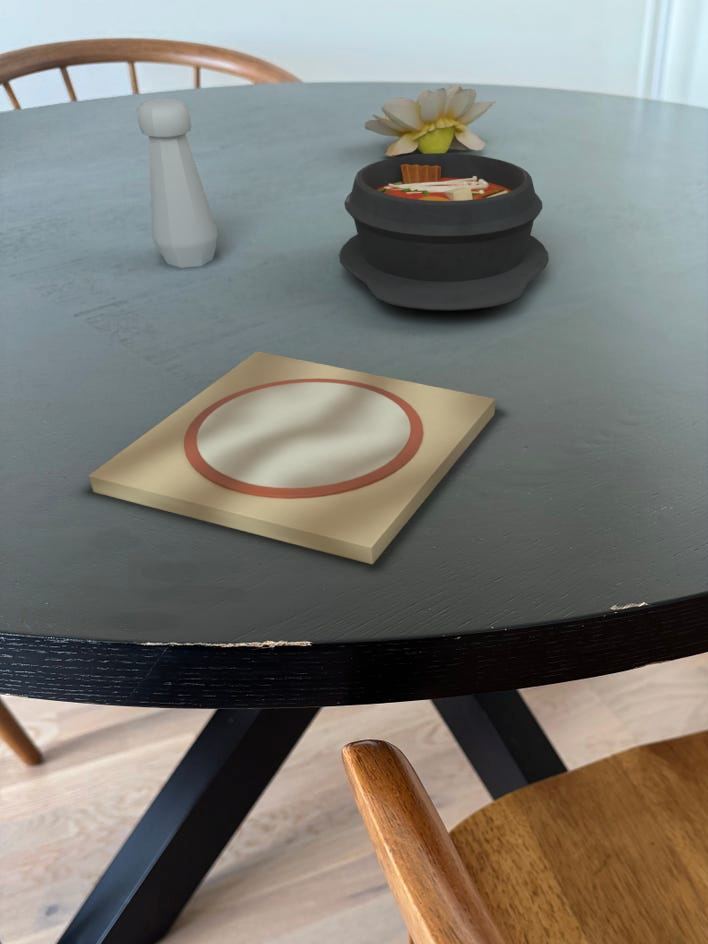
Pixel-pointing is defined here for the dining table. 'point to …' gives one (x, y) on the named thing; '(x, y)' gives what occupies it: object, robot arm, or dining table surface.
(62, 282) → the dining table surface
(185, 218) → the salt shaker
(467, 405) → the board
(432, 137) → the decorative flower
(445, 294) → the casserole
